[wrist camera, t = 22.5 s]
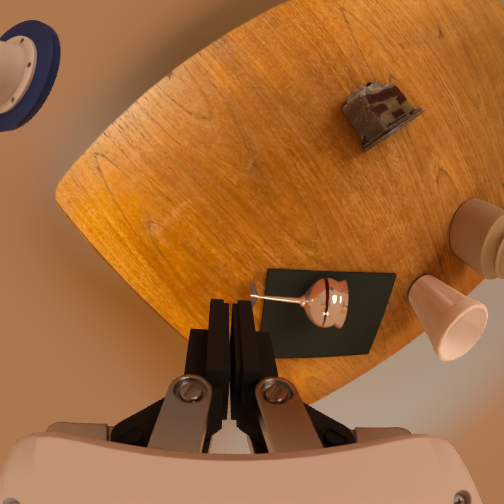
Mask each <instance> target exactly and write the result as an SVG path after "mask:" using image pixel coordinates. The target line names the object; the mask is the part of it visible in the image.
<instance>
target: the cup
mask: <svg viewBox="0 0 504 504" xmlns="http://www.w3.org/2000/svg"><path fill="white" fill-rule="evenodd" d="M408 298H409V302H410V304H411V306H412V308H413V310H414V311H415V313H416V315H417V317H418V319H419V320H420V322H421V324H422V326H423V328H424V330H425V331H426V333H427V335H428V337H429V339H430V340H431V343H432V345H433V349H434V351H435V352H436V354H437V356H438V357H439V358H440V359H441V360H442V361H452V360H455V359H457V358H459V357H461V356H462V355H464V354H465V353H466V352H467V351H469V350H470V349H471V348H472V347H473V345H475V343H476V342H477V341H478V340H479V338H480V336H481V335H482V333H483V331H484V329H485V326H486V324H487V319H488V311H487V309H486V307H485V306H484V305H483V304H482V303H480V302H479V301H477V300H474V299H470V298H468V297H466V296H465V295H463V294H461V293H460V292H458V291H457V290H455V289H453V288H452V287H450V286H448V285H447V284H445V283H443V282H442V281H440V280H438V279H437V278H435V277H434V276H432V275H424V276H422V277H421V278H419V279H417V281H416V282H415V283H414V284H413V285H412V287H411V289H410V291H409V297H408Z"/></svg>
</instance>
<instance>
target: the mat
mask: <svg viewBox="0 0 504 504" xmlns="http://www.w3.org/2000/svg"><path fill="white" fill-rule="evenodd" d="M325 277H327V278H333V279H335V280H336V281H338V282H339V281H342V280H346V282H347V286H348V308H347V314H346V318H345V321H344V324H343V326H342V327H341V328H340V329H339V328H336V327H335V326H332V327H330V328H322V327H318V326H316V325H314V324H313V323H312V322H311V321H310V320H309V319H308V318H307V316H306V314H305V311H304V308H303V307H301V306H300V304H298V303H291V302H284V301H276V300H269V299H264V306H263V314H262V322H261V330H260V332H269V333H270V337H271V342H272V347H273V352H274V357H275V358H313V357H334V356H349V355H362V354H368V353H369V351H370V349H371V346H372V344H373V341H374V339H375V336H376V333H377V331H378V328H379V326H380V323H381V320H382V317H383V315H384V312H385V309H386V306H387V303H388V300H389V297H390V294H391V291H392V288H393V285H394V282H395V278H396V274H395V273H364V272H335V271H309V270H285V269H268V274H267V282H266V290H265V296H280V297H298V298H300V297H301V295H304V294H305V293H306V291H307V290H308V288H309V287H310V286H311V285H312V284H313V283H315V282H316V281H317V280H318V279H322V278H325Z"/></svg>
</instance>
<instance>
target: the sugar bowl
mask: <svg viewBox="0 0 504 504" xmlns="http://www.w3.org/2000/svg"><path fill="white" fill-rule="evenodd" d="M450 245H451V249H452V251H453V252H454V254H455V255H456V256H457V257H459V258H460V259H461V260H463V261H464V262H465V263H466V264H468V265H469V266H470V267H471V268H473V269H474V270H475V271H477V272H478V273H479V274H481V275H482V276H484V277H485V278H487V279H495V278H497V277H498V278H500V279H504V209H502V208H500V207H498V206H495V205H493V204H491V203H488V202H486V201H483V200H481V199H478V198H472V199H469V200H467V201H465V202H464V203H463V204H462V205H461V206H460V207H459V209H458V210H457V212H456V214H455V216H454V218H453V221H452V224H451V228H450Z"/></svg>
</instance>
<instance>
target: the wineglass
mask: <svg viewBox="0 0 504 504" xmlns="http://www.w3.org/2000/svg"><path fill="white" fill-rule="evenodd" d="M258 298H262V299H269V300H276V301H284V302H291V303H298V304H300V306H301V307H303V308H304V311H305V314H306V316H307V318H308V319H309V320H310V321H311V322H312V323H313V324H314V325H316V326H318V327H322V328H330V327H332V326H335V327H336V328H339V329H340V328H341V327H342V326H343V324H344V321H345V318H346V314H347V308H348V286H347V282H346V280H342V281H339V282H338V281H336V280H335V279H333V278H327V277H325V278H322V279H318V280H317V281H316V282H315V283H313V284H312V285H311V286H310V287H309V288H308V290H307V291H306V293H305V294H304V295H301V297H300V298H298V297H280V296H264V295H258V292H257V288H256V284H255V280H254V277H253V282H252V289H251V297H250V301H251V303H252V309H253V307H254V305H255V303H256V301H257V299H258Z"/></svg>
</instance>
